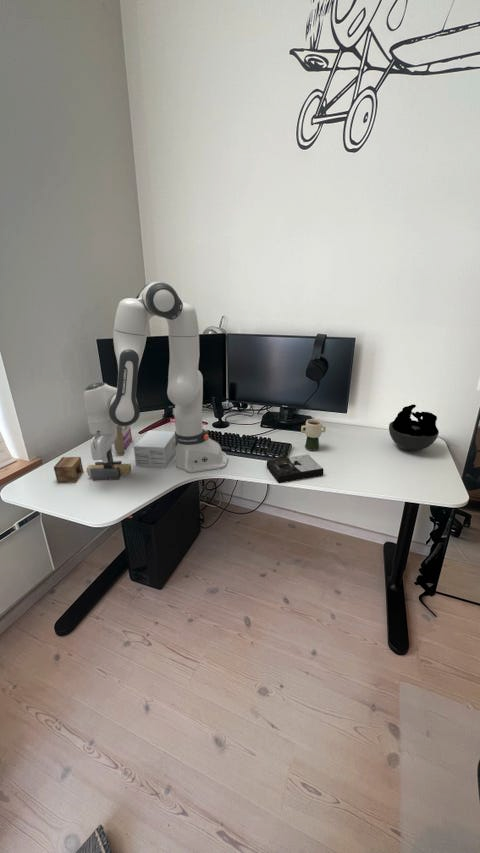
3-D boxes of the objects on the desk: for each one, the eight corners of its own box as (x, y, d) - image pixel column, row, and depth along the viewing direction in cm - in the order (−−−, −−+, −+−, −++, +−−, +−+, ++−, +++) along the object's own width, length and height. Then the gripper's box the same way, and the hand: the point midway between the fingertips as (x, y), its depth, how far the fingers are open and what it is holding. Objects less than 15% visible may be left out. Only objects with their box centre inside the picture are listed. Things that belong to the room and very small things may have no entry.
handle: (125, 456, 154) (121, 425, 148) (111, 456, 155) (106, 425, 149) (129, 451, 159) (125, 421, 153) (115, 451, 159) (110, 420, 153)
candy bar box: (122, 440, 170) (117, 408, 164) (132, 440, 170) (128, 408, 164) (114, 450, 160) (108, 417, 153) (125, 450, 160) (120, 417, 153)
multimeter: (266, 468, 145) (266, 457, 143) (308, 461, 150) (309, 451, 148) (278, 484, 133) (278, 473, 132) (323, 476, 138) (324, 465, 136)
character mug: (322, 444, 164) (324, 418, 159) (325, 451, 157) (328, 424, 152) (298, 445, 164) (300, 419, 159) (301, 452, 157) (302, 425, 152)
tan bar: (131, 470, 140) (128, 449, 137) (129, 474, 138) (126, 453, 134) (90, 472, 140) (86, 451, 136) (87, 475, 137) (83, 454, 133)
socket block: (83, 472, 142) (80, 456, 140) (76, 482, 135) (72, 466, 132) (65, 472, 142) (62, 457, 139) (57, 483, 135) (53, 467, 132)
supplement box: (166, 468, 145) (164, 447, 142) (135, 466, 147) (132, 446, 143) (177, 449, 161) (176, 430, 157) (150, 448, 162) (147, 429, 159)
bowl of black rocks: (428, 463, 147) (438, 421, 139) (380, 450, 158) (386, 411, 151) (438, 446, 161) (447, 407, 154) (392, 435, 173) (399, 399, 165)
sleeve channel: (123, 472, 142) (121, 461, 140) (119, 479, 137) (117, 468, 135) (97, 472, 142) (95, 461, 140) (92, 480, 136) (90, 469, 134)
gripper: (101, 437, 121) (108, 472, 127) (117, 416, 140) (122, 447, 146) (83, 438, 121) (90, 473, 127) (101, 416, 140) (107, 447, 145)
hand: (107, 459), depth 136 cm, fingers closed on tan bar, 3 cm apart
